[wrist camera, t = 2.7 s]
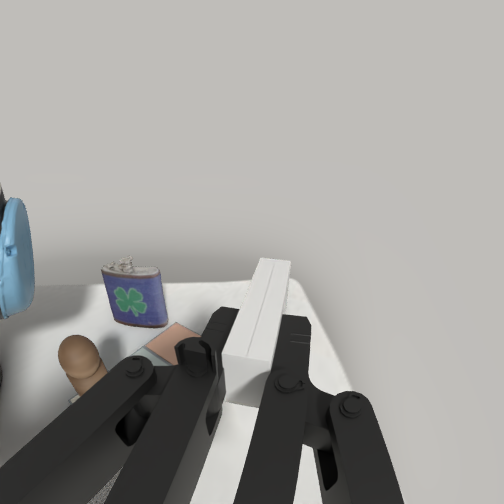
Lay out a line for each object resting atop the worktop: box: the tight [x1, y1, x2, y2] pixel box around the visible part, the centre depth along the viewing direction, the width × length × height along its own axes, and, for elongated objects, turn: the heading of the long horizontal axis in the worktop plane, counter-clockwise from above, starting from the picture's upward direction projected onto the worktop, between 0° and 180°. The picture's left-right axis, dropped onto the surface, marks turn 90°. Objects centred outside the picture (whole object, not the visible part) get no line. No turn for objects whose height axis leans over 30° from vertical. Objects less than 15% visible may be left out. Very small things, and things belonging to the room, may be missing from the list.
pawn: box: [58, 335, 108, 397], centre depth 21 cm, size 5×5×10 cm
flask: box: [101, 256, 168, 328], centre depth 36 cm, size 9×3×11 cm, turn 87°
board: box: [68, 322, 201, 405], centre depth 28 cm, size 9×20×1 cm, turn 148°
